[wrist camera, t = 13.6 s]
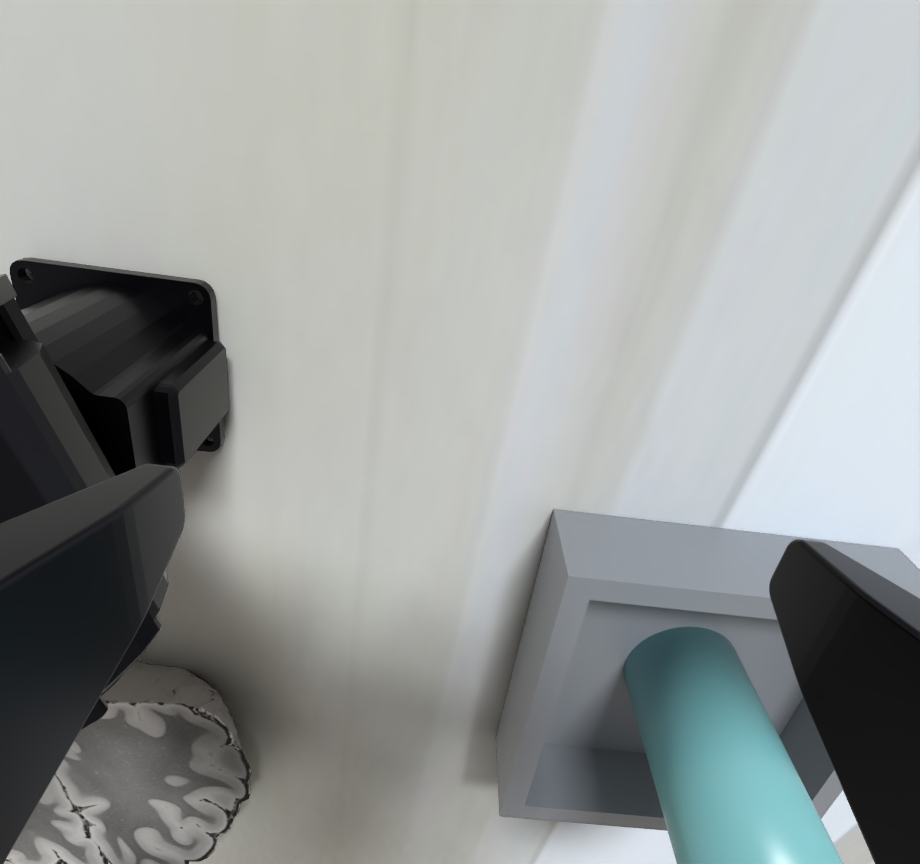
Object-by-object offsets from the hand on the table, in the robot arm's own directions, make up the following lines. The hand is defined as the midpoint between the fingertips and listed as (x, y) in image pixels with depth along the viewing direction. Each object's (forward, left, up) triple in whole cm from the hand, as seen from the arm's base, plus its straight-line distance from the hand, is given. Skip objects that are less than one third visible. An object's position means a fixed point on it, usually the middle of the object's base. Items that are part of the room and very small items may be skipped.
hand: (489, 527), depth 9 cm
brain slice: (-17, -27, -14) cm, 35 cm away
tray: (+12, -16, -13) cm, 24 cm away
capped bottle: (+12, -16, -12) cm, 23 cm away
